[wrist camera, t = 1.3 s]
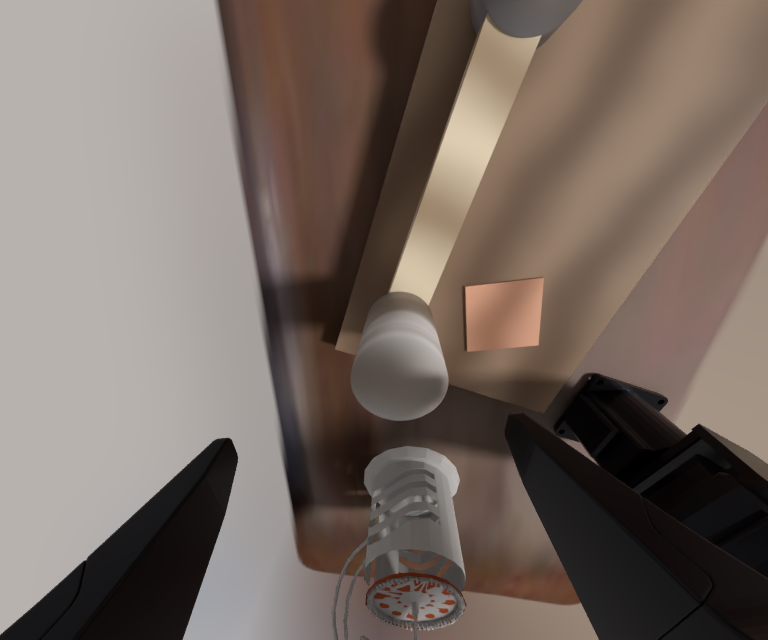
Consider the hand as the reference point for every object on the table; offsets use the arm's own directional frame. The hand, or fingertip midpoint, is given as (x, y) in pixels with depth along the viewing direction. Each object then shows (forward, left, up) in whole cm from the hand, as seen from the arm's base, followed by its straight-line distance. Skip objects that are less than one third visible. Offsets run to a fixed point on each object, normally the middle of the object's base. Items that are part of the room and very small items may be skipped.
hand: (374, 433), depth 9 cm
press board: (-6, -8, -13) cm, 17 cm away
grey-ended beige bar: (-1, -8, -11) cm, 13 cm away
